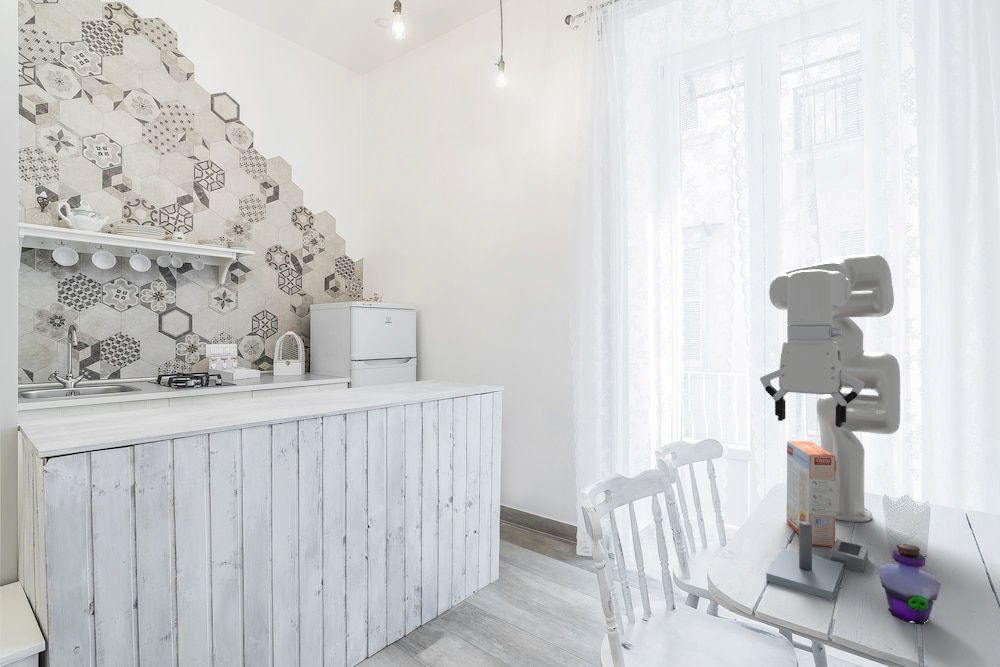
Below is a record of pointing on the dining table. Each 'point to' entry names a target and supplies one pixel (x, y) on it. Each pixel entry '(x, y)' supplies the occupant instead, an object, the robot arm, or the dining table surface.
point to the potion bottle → (909, 585)
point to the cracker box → (811, 490)
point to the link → (850, 555)
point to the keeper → (806, 568)
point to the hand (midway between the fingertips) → (809, 422)
